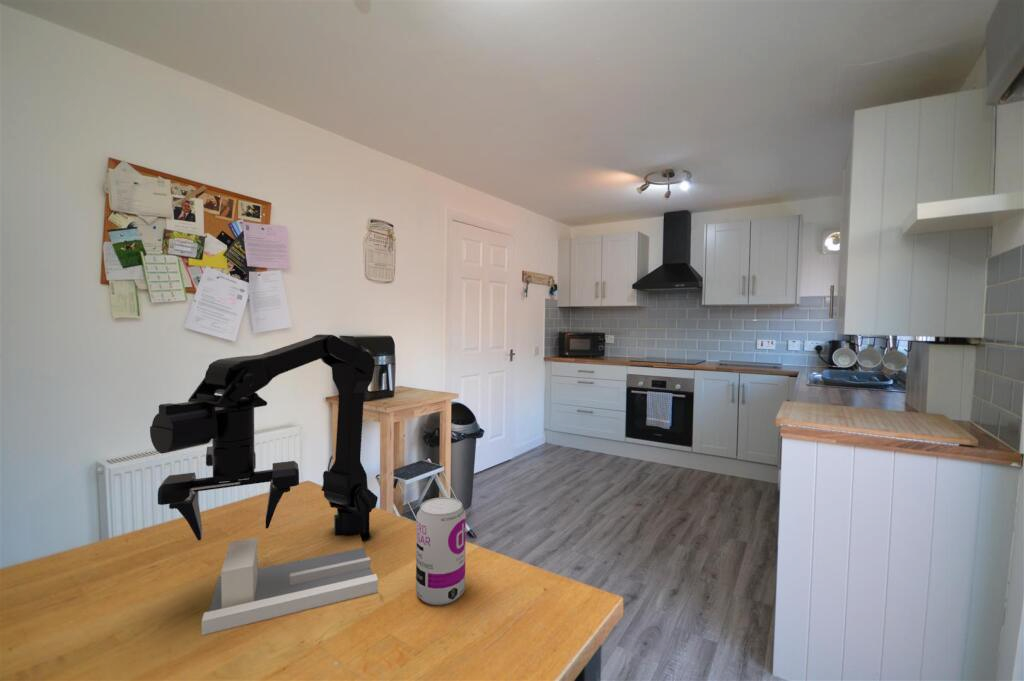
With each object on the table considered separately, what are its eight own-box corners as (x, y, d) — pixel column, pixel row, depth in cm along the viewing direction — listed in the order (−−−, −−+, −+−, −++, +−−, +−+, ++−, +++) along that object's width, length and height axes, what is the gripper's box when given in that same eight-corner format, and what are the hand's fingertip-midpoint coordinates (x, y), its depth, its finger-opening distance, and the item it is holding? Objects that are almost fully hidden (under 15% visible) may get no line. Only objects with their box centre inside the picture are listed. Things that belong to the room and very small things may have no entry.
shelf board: (364, 555, 87) (364, 537, 87) (378, 600, 73) (378, 580, 73) (218, 585, 77) (218, 565, 77) (201, 645, 62) (201, 621, 62)
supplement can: (473, 585, 78) (474, 501, 77) (447, 613, 70) (448, 519, 70) (434, 574, 81) (435, 493, 81) (405, 599, 74) (406, 509, 73)
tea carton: (257, 577, 77) (257, 537, 76) (252, 611, 68) (252, 565, 68) (229, 582, 75) (229, 542, 75) (221, 618, 66) (220, 572, 66)
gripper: (296, 422, 83) (296, 504, 83) (171, 432, 74) (172, 524, 75) (299, 435, 73) (299, 529, 74) (156, 449, 64) (157, 555, 65)
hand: (234, 533), depth 72 cm, fingers open, 9 cm apart
